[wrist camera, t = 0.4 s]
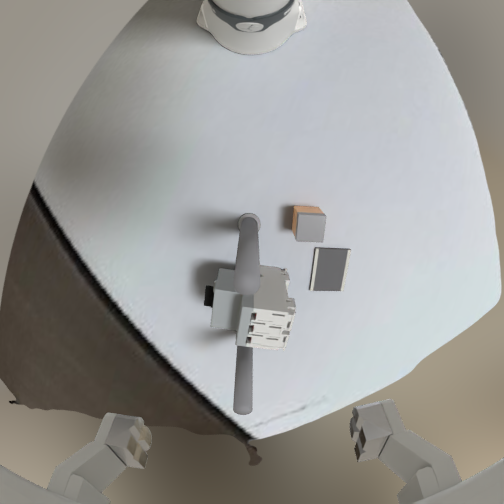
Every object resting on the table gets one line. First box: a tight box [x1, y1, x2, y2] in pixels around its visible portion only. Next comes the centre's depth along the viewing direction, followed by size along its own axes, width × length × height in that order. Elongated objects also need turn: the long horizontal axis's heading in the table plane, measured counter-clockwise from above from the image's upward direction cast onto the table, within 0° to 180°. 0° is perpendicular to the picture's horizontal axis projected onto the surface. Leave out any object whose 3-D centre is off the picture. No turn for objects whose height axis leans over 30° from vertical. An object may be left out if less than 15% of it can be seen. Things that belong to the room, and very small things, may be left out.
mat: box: [310, 247, 351, 291], centre depth 56 cm, size 9×7×1 cm
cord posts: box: [233, 213, 261, 415], centre depth 47 cm, size 27×4×22 cm, turn 178°
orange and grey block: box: [292, 206, 326, 242], centre depth 50 cm, size 4×4×6 cm
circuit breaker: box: [204, 265, 296, 351], centre depth 50 cm, size 8×14×15 cm, turn 81°
